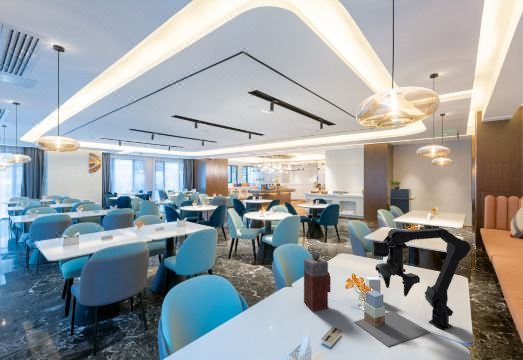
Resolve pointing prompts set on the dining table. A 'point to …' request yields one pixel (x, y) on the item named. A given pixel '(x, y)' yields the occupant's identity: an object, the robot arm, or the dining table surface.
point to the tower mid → (374, 310)
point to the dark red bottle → (316, 282)
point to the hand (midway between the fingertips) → (396, 291)
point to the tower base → (374, 320)
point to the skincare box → (373, 283)
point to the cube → (374, 299)
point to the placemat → (393, 329)
